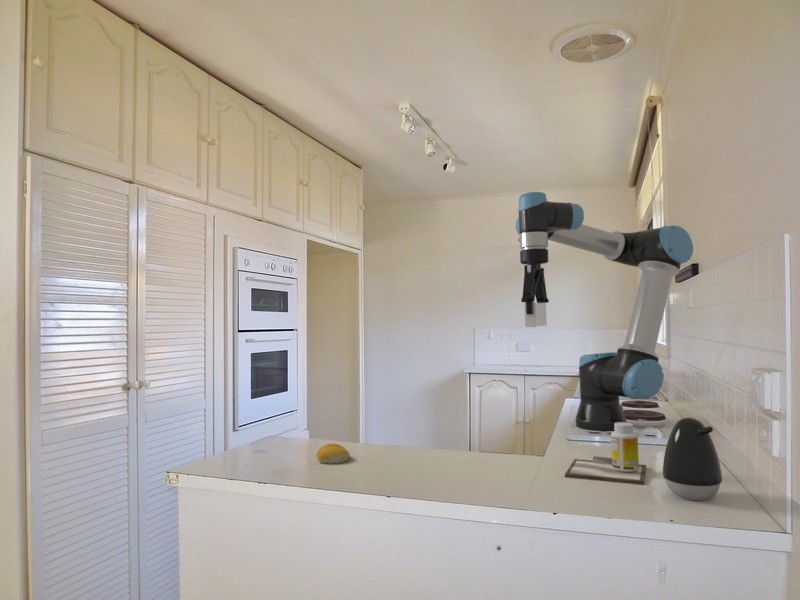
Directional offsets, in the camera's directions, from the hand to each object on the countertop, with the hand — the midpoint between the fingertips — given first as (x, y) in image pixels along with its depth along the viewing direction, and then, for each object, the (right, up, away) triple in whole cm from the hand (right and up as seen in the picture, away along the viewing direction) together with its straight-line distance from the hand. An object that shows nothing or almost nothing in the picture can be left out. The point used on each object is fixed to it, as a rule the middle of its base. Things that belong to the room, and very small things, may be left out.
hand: (536, 326), depth 155 cm
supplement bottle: (+13, -31, -28) cm, 44 cm away
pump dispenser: (+19, -31, -45) cm, 58 cm away
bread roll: (-55, -34, -10) cm, 65 cm away
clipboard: (+9, -32, -27) cm, 43 cm away
